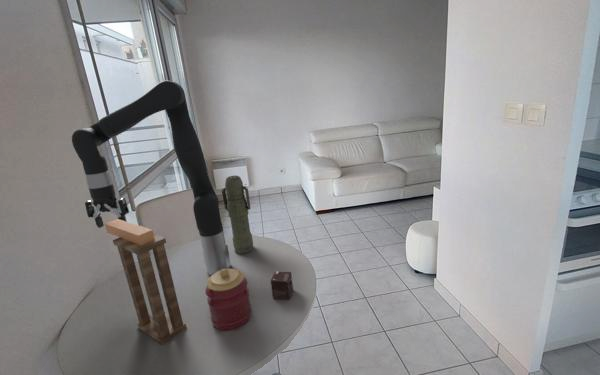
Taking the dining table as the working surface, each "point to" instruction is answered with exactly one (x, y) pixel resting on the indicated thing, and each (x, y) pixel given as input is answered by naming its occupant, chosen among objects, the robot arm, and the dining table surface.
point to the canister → (228, 299)
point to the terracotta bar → (130, 231)
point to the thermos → (238, 213)
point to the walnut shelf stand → (151, 288)
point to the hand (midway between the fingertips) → (112, 226)
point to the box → (282, 285)
